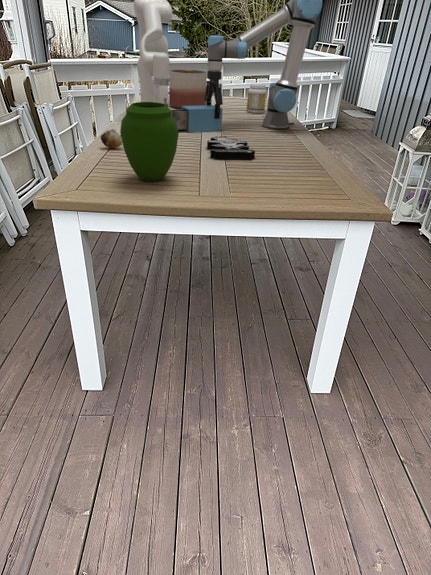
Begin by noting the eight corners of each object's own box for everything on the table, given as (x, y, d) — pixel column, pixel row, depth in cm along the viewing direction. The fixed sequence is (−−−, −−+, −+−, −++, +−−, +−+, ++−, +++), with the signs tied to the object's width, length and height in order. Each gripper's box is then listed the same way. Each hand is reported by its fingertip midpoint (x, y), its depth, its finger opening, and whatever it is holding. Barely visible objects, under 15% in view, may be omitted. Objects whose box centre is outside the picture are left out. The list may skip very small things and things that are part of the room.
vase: (131, 189, 135) (125, 110, 122) (118, 172, 150) (112, 100, 137) (186, 184, 142) (187, 109, 129) (169, 168, 157) (167, 99, 144)
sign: (211, 151, 170) (204, 135, 195) (211, 159, 172) (203, 142, 197) (256, 152, 172) (243, 136, 198) (255, 159, 174) (242, 143, 199)
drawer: (159, 131, 209) (158, 112, 204) (154, 128, 216) (153, 109, 211) (201, 129, 218) (202, 110, 213) (195, 126, 225) (195, 107, 220)
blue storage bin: (188, 132, 215) (189, 109, 209) (181, 128, 223) (181, 106, 217) (221, 130, 222) (222, 108, 216) (213, 126, 230) (214, 105, 224)
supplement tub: (247, 109, 285) (249, 83, 276) (264, 111, 283) (267, 84, 274) (245, 112, 274) (248, 84, 265) (264, 114, 273) (266, 86, 264)
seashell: (124, 147, 182) (123, 128, 178) (122, 150, 177) (120, 130, 173) (103, 146, 182) (101, 127, 178) (100, 149, 177) (98, 129, 173)
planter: (200, 104, 298) (200, 69, 286) (210, 110, 277) (212, 73, 266) (165, 104, 290) (165, 69, 278) (174, 110, 270) (173, 72, 258)
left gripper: (149, 80, 206) (150, 119, 216) (158, 84, 195) (160, 124, 204) (163, 80, 209) (164, 119, 219) (173, 84, 198) (174, 124, 207)
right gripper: (199, 68, 217) (198, 113, 229) (217, 72, 200) (215, 120, 211) (211, 68, 220) (210, 112, 232) (231, 73, 203) (228, 120, 214)
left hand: (162, 121), depth 211 cm, fingers closed
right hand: (212, 116), depth 222 cm, fingers closed on blue storage bin, 10 cm apart
